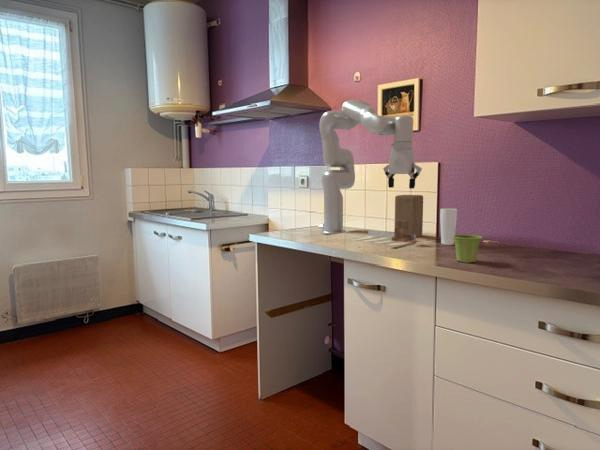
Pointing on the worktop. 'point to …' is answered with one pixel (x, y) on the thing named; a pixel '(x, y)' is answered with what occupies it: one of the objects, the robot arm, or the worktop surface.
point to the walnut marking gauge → (401, 231)
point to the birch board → (385, 238)
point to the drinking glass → (448, 225)
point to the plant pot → (466, 247)
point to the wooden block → (410, 212)
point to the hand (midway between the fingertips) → (401, 187)
